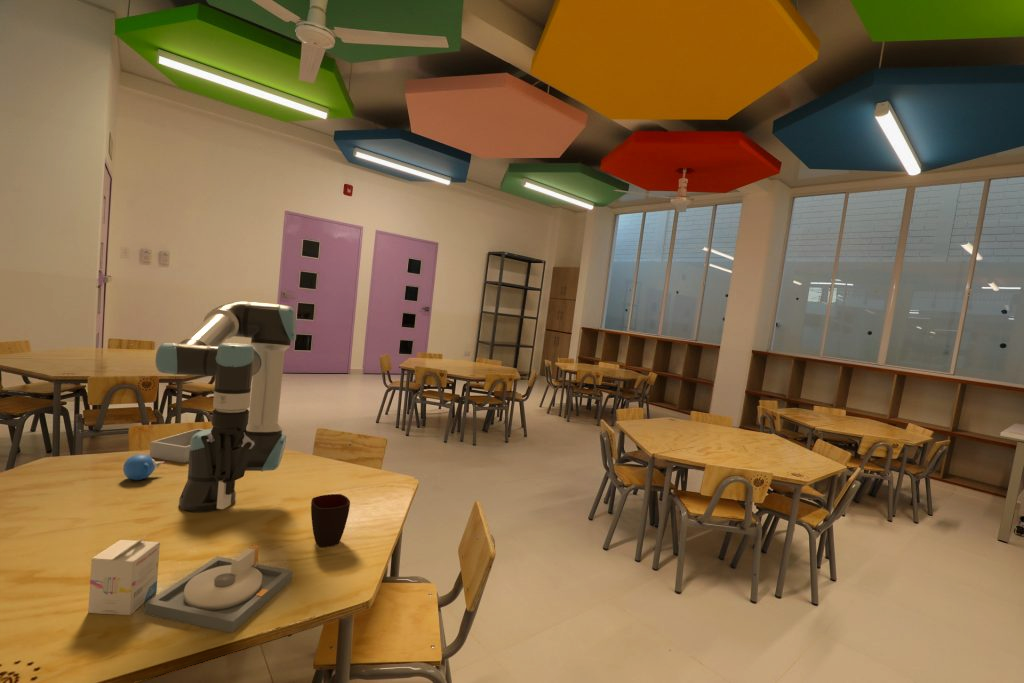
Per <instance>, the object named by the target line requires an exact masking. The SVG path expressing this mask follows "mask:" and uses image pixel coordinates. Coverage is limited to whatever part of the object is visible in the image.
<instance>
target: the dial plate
mask: <svg viewBox="0 0 1024 683" xmlns="http://www.w3.org/2000/svg"><path fill="white" fill-rule="evenodd" d="M232 559H233V558H229V557H226V556H225V557H224V556H219V555H218V556H215V557H213V558H212V559H211V560H209V561H208V562H206V563H205V564H202V566H200V567H198V568H197V569H196V570H194V571H192V572H191V573H189V574H187V575H185V576H184V577H183V578H181V579H180V580H178V581H177V582H175V583H174V584H172V585H170V586H169V587H167V588H165V590H163V591H162V592H161V591H160V592H159V593H158V594H156V595H155V596H153V597H152V598H149V599H148V600H146V601H145V602H144V612H143V613H144V615H147V616H151V617H158V618H162V619H165V620H171V621H175V622H180V623H183V624H189V625H194V626H196V627H197V626H198V627H203V628H208V629H212V630H217V631H222V632H226V633H231V634H233V633H234V632H235V631H237V629H238V628H240V627H241V626H242V625H243V624H244V623H245V622H246V621H247V620H248V619H250V618H251V617H252V616H253V615H254V614H255V613H256V612H257V611H258V610H260V609H261V608H262V607H263V606H264V605H265V604H267V602H269V600H271V599H272V598H273V597H274V596H275V595H277V593H279V592H280V591H281V590H282V589H283V588H284V587H286V586H287V585H288V584H289V583H290V582H291V581H292V576H293V575H292V574H293V570H290V569H285V568H280V567H275V566H271V565H270V566H269V565H265V564H260V563H258V562H257V563H255V564H253V565H252V566H251V567H254V568H256V569H258V570H259V571H260V572H261V574H262V586H261V589H260V590H259V592H258V593H257V594H256V595H255V596H253V597H252V598H251V599H249V600H247V601H245V602H243V603H241V604H239V605H236V606H233V607H229V608H225V609H219V610H203V609H198V608H193V607H190V606H189V605H187V604H186V603H185V601H184V588H185V586H186V584H187V583H188V581H189V580H191V579H192V578H193V577H194V576H196V575H198V574H200V573H202V572H204V571H206V570H209V569H212V568H216V567H220V566H226V565H231V564H232Z"/></svg>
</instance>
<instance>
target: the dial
mask: <svg viewBox="0 0 1024 683" xmlns="http://www.w3.org/2000/svg"><path fill="white" fill-rule="evenodd" d="M259 553H260V546H257V545H251V546H249V547H248V548H246V549H245V550H244V551H242V552H241V553H239V554H238V555H236V556H235V557H234V558H231V559H232V564H231V565H226V566H220V567H216V568H212V569H209V570H206V571H204V572H202V573H200V574H198V575H196V576H194V577H193V578H192V579H191V580H189V581H188V583H187V584H186V586H185V588H184V601H185V603H186V604H187V605H189V606H190V607H193V608H198V609H203V610H219V609H225V608H229V607H233V606H236V605H239V604H241V603H243V602H245V601H247V600H249V599H251V598H252V597H253V596H255V595H256V594H257V593H258V592H259V590H260V589H261V586H262V574H261V572H260V571H259V570H258V569H256V568H254V567H251V566H252V565H253V564H255V563H258V562H259V555H260V554H259Z"/></svg>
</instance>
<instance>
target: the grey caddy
mask: <svg viewBox="0 0 1024 683" xmlns="http://www.w3.org/2000/svg"><path fill="white" fill-rule="evenodd" d="M203 430H205V429H203V428H196V429H191V430H188V431H185V432H181V433H177V434H173V435H169V436H166V437H163V438H159V439H155V440H152V441H150V448H149V456H150V457H151V458H152V459H153V458H154V459H159V460H165V461H171V462H177V463H189V452H190V450H189V448H190V443H191V438H192V436H193V435H194V434H196V433H197V432H200V431H203Z"/></svg>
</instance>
